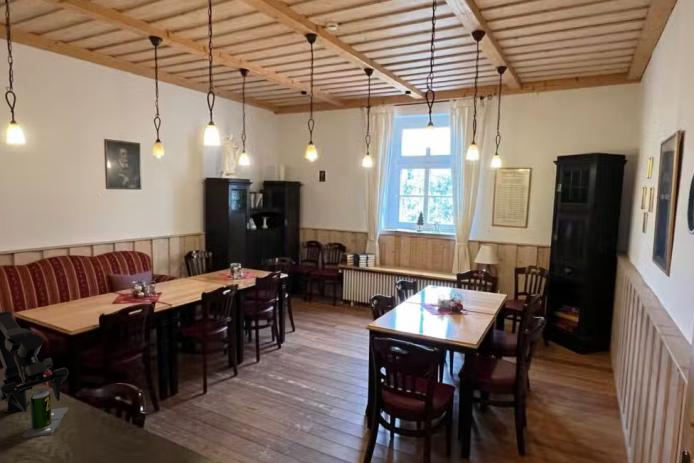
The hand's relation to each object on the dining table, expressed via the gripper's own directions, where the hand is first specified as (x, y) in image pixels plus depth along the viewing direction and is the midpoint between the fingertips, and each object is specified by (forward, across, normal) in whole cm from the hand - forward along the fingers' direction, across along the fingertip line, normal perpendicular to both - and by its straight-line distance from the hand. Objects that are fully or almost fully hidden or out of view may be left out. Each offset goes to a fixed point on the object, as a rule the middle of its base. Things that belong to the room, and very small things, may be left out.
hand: (42, 405), depth 138 cm
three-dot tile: (+5, 0, +7) cm, 9 cm away
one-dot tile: (0, +5, +12) cm, 13 cm away
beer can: (+4, 0, +7) cm, 8 cm away
